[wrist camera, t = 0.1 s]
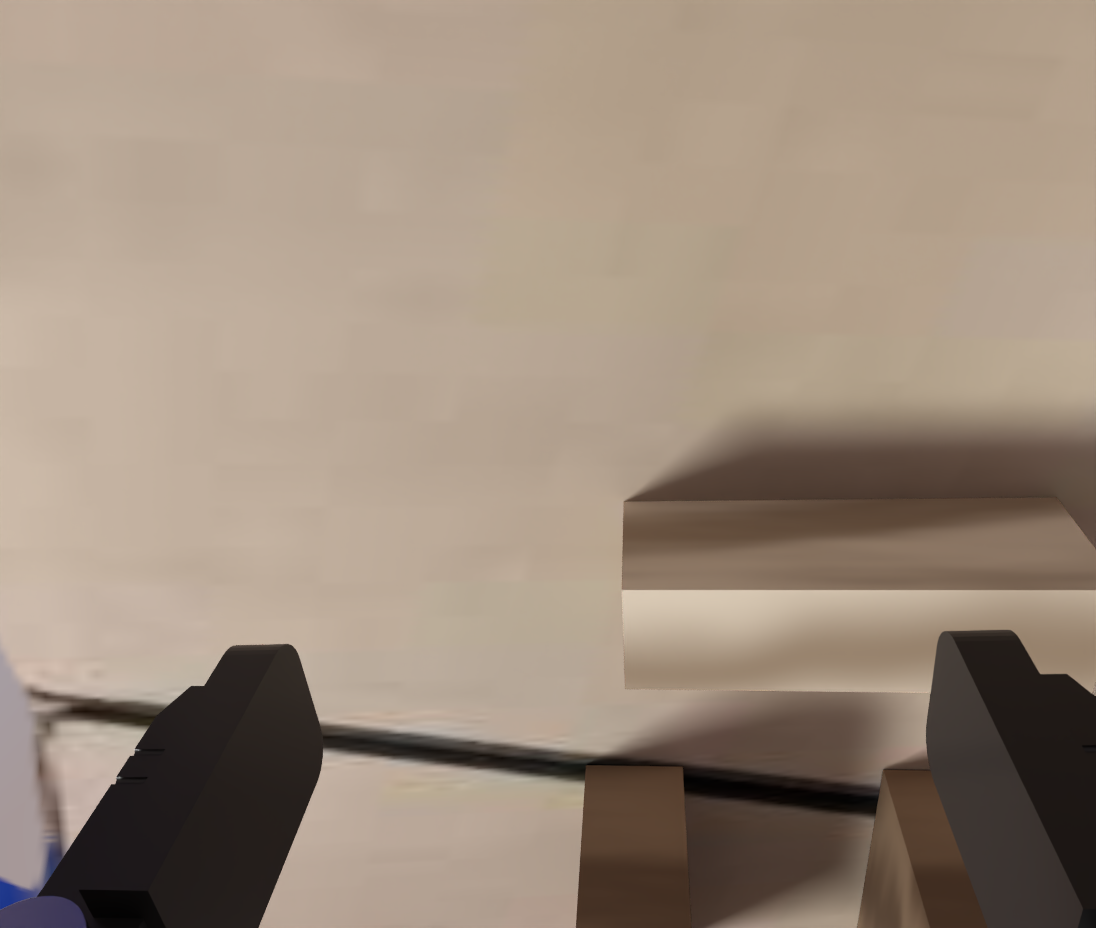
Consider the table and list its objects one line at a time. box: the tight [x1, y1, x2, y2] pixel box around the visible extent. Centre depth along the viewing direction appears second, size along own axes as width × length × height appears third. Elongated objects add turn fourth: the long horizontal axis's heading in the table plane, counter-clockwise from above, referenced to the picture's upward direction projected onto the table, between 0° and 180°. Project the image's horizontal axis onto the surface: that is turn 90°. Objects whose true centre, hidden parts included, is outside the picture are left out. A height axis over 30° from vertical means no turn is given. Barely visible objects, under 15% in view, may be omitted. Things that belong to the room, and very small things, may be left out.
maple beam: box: [622, 497, 1096, 693], centre depth 28 cm, size 4×14×5 cm, turn 94°
